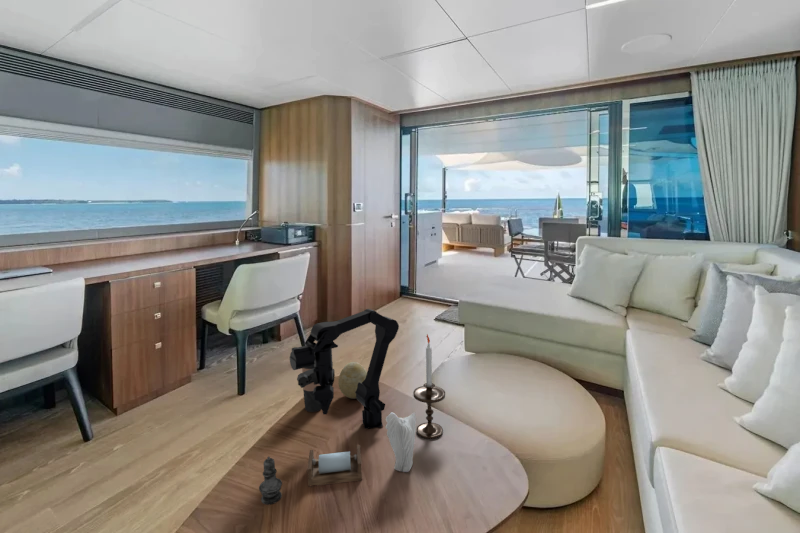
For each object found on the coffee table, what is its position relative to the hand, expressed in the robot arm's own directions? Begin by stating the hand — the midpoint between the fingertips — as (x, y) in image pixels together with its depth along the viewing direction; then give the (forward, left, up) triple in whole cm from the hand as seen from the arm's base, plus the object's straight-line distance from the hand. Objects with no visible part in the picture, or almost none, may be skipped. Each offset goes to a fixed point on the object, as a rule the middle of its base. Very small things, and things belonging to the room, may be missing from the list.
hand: (325, 407), depth 128 cm
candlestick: (-35, +1, -12) cm, 37 cm away
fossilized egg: (-10, -30, -12) cm, 34 cm away
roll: (-3, +17, -11) cm, 20 cm away
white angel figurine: (-23, +18, -12) cm, 32 cm away
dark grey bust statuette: (+14, +24, -12) cm, 30 cm away
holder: (-3, +17, -12) cm, 21 cm away
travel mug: (+6, -24, -12) cm, 28 cm away
